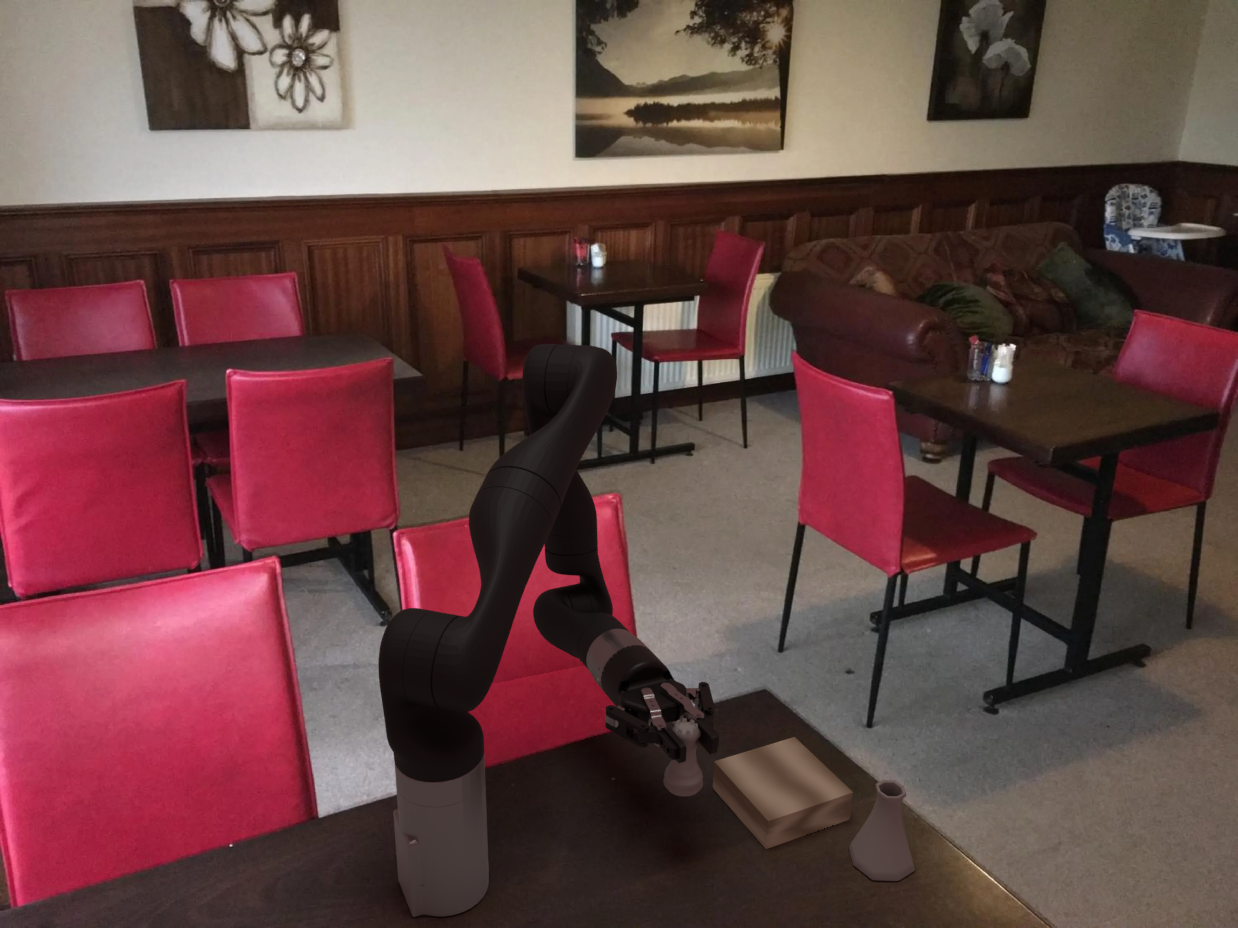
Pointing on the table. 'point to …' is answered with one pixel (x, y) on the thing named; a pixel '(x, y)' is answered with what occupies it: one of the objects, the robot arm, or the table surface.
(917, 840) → the table surface
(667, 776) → the rook chess piece
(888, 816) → the flask
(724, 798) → the maple plinth
